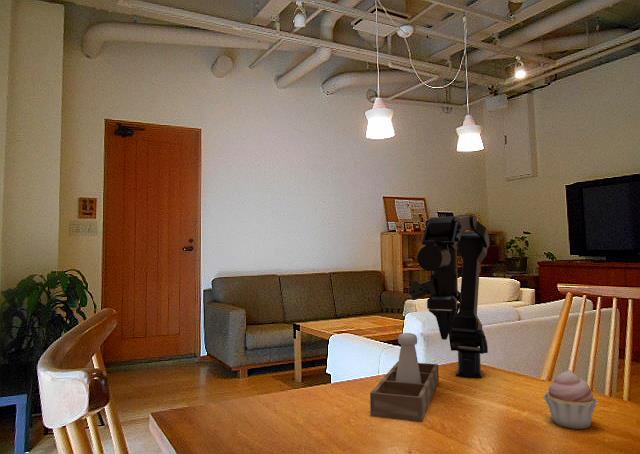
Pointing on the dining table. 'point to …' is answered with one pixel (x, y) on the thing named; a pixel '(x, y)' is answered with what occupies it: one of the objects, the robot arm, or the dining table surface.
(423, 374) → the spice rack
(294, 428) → the dining table surface
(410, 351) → the salt shaker
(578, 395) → the cupcake
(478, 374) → the robot arm
